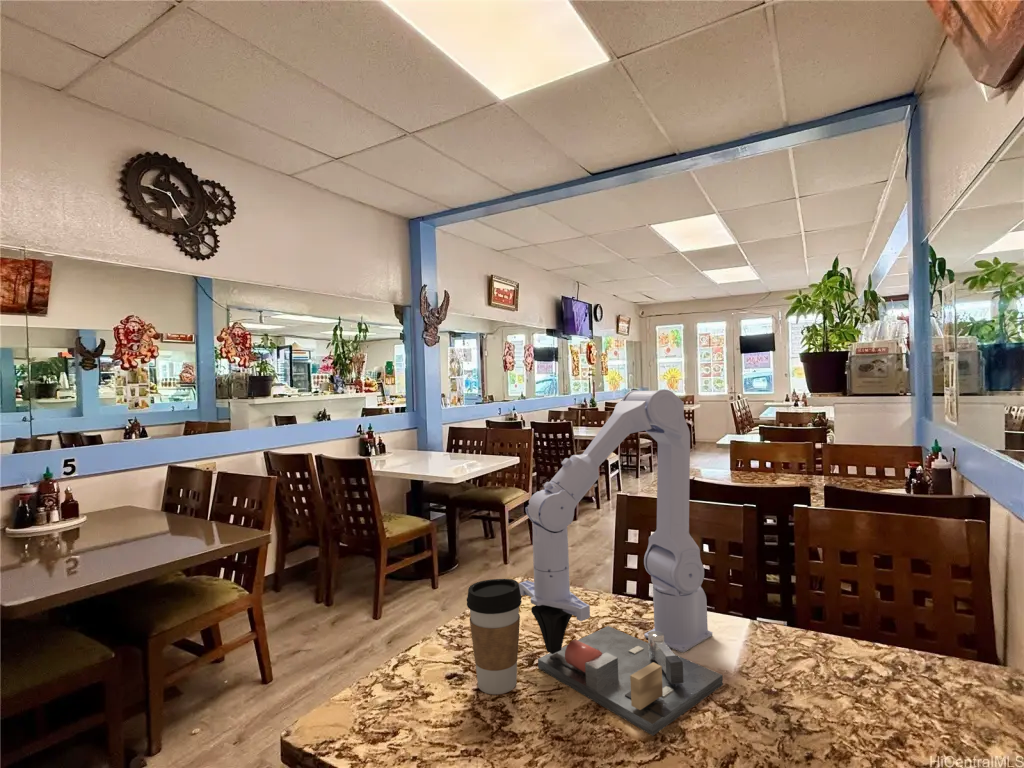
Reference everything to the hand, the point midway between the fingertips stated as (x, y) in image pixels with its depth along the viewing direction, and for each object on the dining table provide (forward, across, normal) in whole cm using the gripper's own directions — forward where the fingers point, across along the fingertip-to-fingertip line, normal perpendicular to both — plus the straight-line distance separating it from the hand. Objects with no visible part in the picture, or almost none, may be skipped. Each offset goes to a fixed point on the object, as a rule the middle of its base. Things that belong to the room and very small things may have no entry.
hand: (554, 650), depth 84 cm
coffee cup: (+3, -2, -10) cm, 11 cm away
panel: (+2, +10, +6) cm, 12 cm away
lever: (0, +15, +9) cm, 17 cm away
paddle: (0, +18, 0) cm, 18 cm away
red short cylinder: (0, +7, 0) cm, 7 cm away
